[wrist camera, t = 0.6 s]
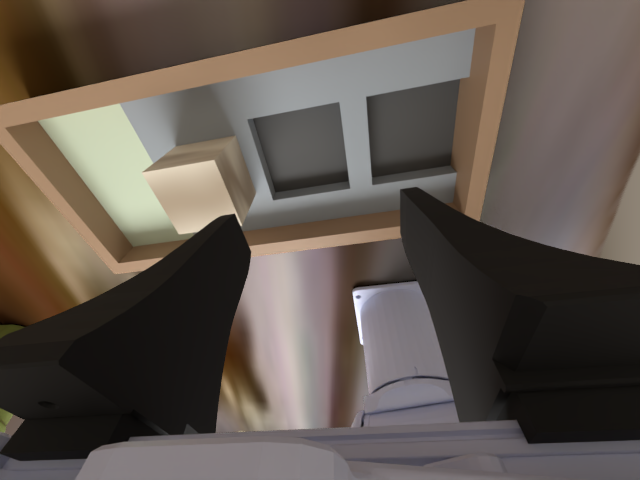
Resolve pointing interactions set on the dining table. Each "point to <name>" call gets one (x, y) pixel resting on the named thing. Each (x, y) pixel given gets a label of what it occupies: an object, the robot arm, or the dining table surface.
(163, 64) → the dining table surface
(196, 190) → the birch cube
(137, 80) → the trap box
